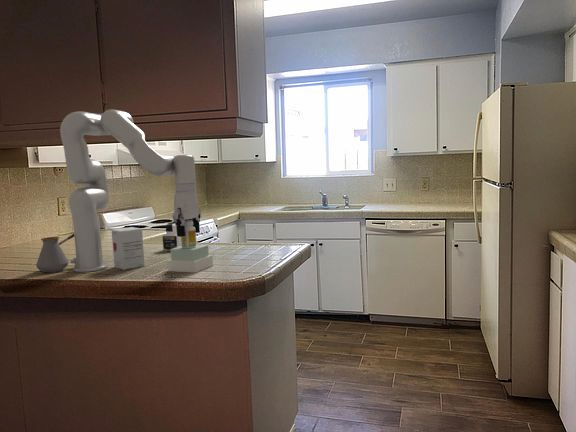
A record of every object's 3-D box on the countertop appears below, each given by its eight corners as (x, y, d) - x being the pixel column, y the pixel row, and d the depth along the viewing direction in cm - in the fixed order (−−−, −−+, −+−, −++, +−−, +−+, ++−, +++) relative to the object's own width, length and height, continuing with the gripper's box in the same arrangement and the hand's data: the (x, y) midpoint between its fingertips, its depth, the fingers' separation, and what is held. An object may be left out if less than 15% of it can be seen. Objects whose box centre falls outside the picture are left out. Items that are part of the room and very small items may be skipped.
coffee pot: (46, 275, 186) (42, 235, 184) (31, 272, 193) (27, 233, 191) (97, 264, 203) (94, 228, 201) (82, 262, 210) (79, 226, 208)
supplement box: (113, 267, 196) (110, 229, 194) (135, 263, 202) (132, 226, 200) (123, 270, 189) (120, 231, 188) (145, 266, 195) (142, 228, 194)
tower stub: (167, 271, 184) (166, 249, 183) (186, 264, 195) (185, 244, 194) (195, 272, 179) (194, 250, 178) (213, 265, 190) (211, 244, 189)
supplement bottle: (197, 245, 189) (196, 220, 188) (195, 248, 184) (194, 221, 183) (183, 246, 189) (181, 220, 188) (180, 248, 183) (179, 222, 182)
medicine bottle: (163, 250, 230) (161, 224, 229) (170, 248, 237) (168, 222, 236) (177, 250, 228) (175, 224, 227) (184, 248, 235) (182, 222, 234)
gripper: (190, 187, 193) (193, 231, 195) (163, 190, 177) (166, 237, 179) (206, 187, 190) (209, 231, 192) (180, 189, 175) (183, 238, 176)
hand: (188, 234), depth 186 cm, fingers open, 9 cm apart
